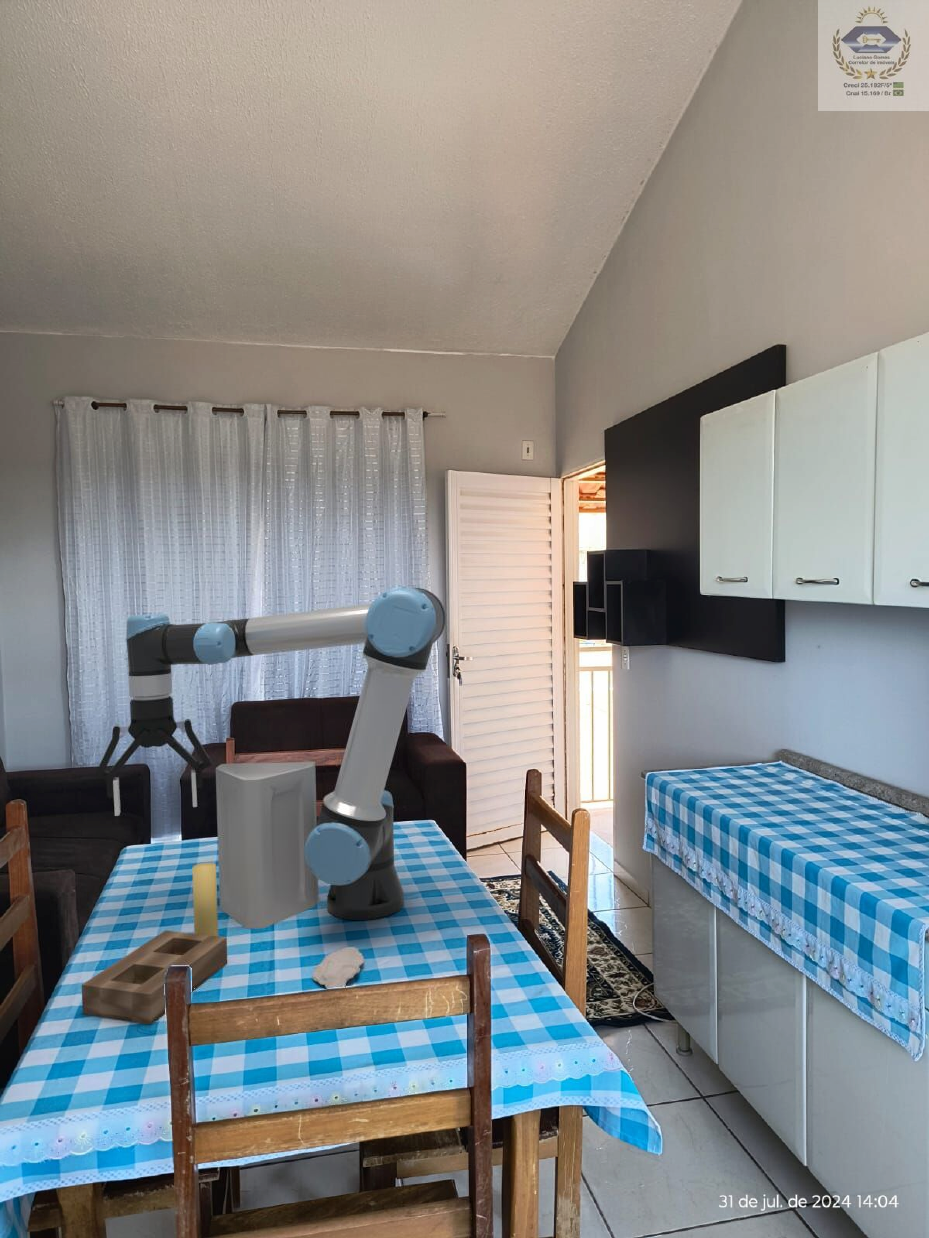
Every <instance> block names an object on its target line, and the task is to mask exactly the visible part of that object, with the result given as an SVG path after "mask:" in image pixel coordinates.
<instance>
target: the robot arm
mask: <svg viewBox="0 0 929 1238" xmlns="http://www.w3.org/2000/svg"><path fill="white" fill-rule="evenodd" d="M446 615H447V614H446V610H445V606H444V605H443V603H442V601H441V600H440V599H439V598H438V596H437V595H435V593H433V592H432V591H429V590H428V589H425V588H421V587H406V586H399V587H393V588H391V589H388V590H387V591H386V590H385V591H384V592H383V593H382V594H380V595H378V596H377V597H375V598H374V600H373V601H372V602H371V603H366V604H357V605H351V606H350V605H349V606H340V607H333V608H332V607H331V608H323V609H316V610H308V611H307V610H306V611H300V612H298V611H297V612H291V613H283V614H273V615H264V616H257V617H250V618H240V619H239V618H238V619H230V620H229V619H228V620H222V621H221V620H220V621H211V622H203V623H184V624H183V623H182V624H181V623H180V624H175V623H174V624H173V623H171V622H170V618H169V616H168V615H167V614H163V613H162V614H159V613H158V614H138V615H136V614H135V615H134V614H133V615H130V616H129V617H128V618H127V620H126V638H125V642H126V646H127V647H126V648H127V662H128V665H127V666H128V693H129V695H128V696H130V697H131V698H132V699H131V700H130V701H129V711H130V712H129V713H130V724H129V725H119V724H115V725H114V726H113V727H112V732H111V733H112V734H111V735H112V736H111V740H110V742H109V744H108V747H107V749H106V751H105V752H104V755H103V757H102V759H101V761H100V763H99V765H98V768H97V770H96V772H95V774H94V776H95V778H97V779H103V780H105V781H106V795H107V797H108V798H113V803H114V804H113V805H114V816H115V817H118V816H120V814H121V799H120V797H121V795H120V777H116V776H117V774H118V773H119V771H120V770H121V769H122V768H123V767H124V765H125V764H126V763H127V762H128V760H129V759H130V758H131V756H133V754H134V753H135V752H136V751H137V749H138V748H139V747H142V748H145V749H149V748H152V747H156V748H157V747H159V748H160V747H163V746H165V745H166V744H167V745H168V747H170V748H171V749H173V751H175V752H176V753H177V754H178V755H179V756H180V757H181V758H182V759H183V760H184V761H185V762H186V764H188V765H189V766H190V767H191V768H193V769H191V770H190V771H191V793H192V807H193V808H196V807H198V800H197V799H198V796H197V795H198V794H197V793H198V792H197V789H199V788H200V789H201V788H202V787H203V785H204V784H203V770H204V769H207V768H211V766H212V760H211V758H210V757H209V755H208V753H207V752H206V750H205V748H204V746H203V745H202V743H201V742H200V740H199V738H198V737H197V735H196V733H195V731H194V730H193V725H192V720H191V719H189V718H187V719H185V720H182V721H177V722H176V720H175V718H174V717H175V716H174V715H175V714H174V698H173V697H172V696H171V694H172V693H173V678H172V677H173V676H172V675H173V674H172V665H173V666H174V665H207V666H208V665H209V666H212V665H219V664H225V663H228V662H229V661H231V659H235V658H245V657H251V656H252V657H253V656H260V655H267V654H268V655H269V654H278V653H287V652H289V653H290V652H296V651H306V650H316V649H325V648H335V647H343V646H352V645H362V644H364V647H363V651H362V656H363V657H364V659H365V661H366V663H367V669H366V672H365V676H364V680H363V683H362V688H361V691H360V694H359V699H358V703H357V705H356V706H357V707H356V710H355V713H354V718H353V721H352V725H351V728H350V732H349V734H348V735H349V736H348V740H347V743H346V747H345V751H344V754H343V759H342V761H341V765H340V769H339V772H338V775H337V780H336V784H335V788H334V790H333V791H332V792H330V793H328V794H325V796H324V797H323V799H322V803H321V808H320V811H319V814H318V818H317V825H316V827H315V828H314V829H313V830H312V831H311V833H310V834H309V836H308V838H307V840H306V843H305V848H304V855H305V860H306V863H307V865H308V866H309V868H310V870H311V871H312V873H313V874H314V875H315V876H316V877H317V878H318V880H320V881H321V882H323V883H325V884H328V885H329V889H328V892H327V896H326V906H327V907H326V908H327V909H326V910H327V911H328V913H330V914H331V915H332V916H334V917H336V918H340V919H343V920H349V921H350V920H352V921H366V920H367V921H368V920H374V919H375V920H376V919H380V918H384V917H388V916H391V915H393V914H396V913H397V912H399V911H400V910H401V909H402V908H403V906H404V904H405V901H404V898H405V897H404V895H405V894H404V889H403V887H402V883H401V881H400V878H399V876H398V873H397V869H396V867H395V851H394V850H395V845H394V843H395V841H394V840H395V839H394V836H395V835H394V833H395V832H394V807H395V806H394V802H393V801H394V800H393V796H392V794H391V792H389V791H388V790H386V789H385V787H386V783H387V780H388V776H389V773H390V770H391V769H390V768H391V766H392V762H393V758H394V755H395V751H396V746H397V743H398V739H399V736H400V733H401V728H402V725H403V721H404V718H405V714H406V712H407V711H406V710H407V707H408V703H409V700H410V696H411V694H412V693H411V692H412V689H413V685H414V681H415V678H416V677H417V676H419V675H420V674H423V673H424V672H426V669H427V666H428V663H429V659H430V655H431V652H432V648H433V645H434V643H436V642H437V641H438V640H439V638H441V636H442V634H443V632H444V630H445V627H446V620H447V619H446V618H447V616H446ZM177 729H179V730H180V731H181V732H182V733H186V736H187V738H188V740H189V741H190V744H191V745H192V747H193V748H194V749H195V751H196V754H197V755H198V756H199V758H200V760H201V761H198V760H197V759H196V757H194V756H193V755H192V754H191V753H190V752H189V751H188V750H187V749H186V748H185V747H184V746H183V744H181V743H180V742H179V741H178V740H177V739H176V738H175V737H174V736H173V735H174V733H175V732H176V730H177ZM126 733H128V734H129V735H130V736H131V737H132V738H133V741H132V742H131V743H130V745H129V746H128V747H127V748H126V750H125V751H124V752H123V754H122V755H121V756H120V758H118V760H117V761H116V762H115V764H114V765H112V767H111V768H110V770H109V771H108V770H106V769H107V767H108V764H109V763H110V760H111V758H112V756H113V754H114V752H115V749H116V747H117V745H118V743H119V742H120V739H121V738H124V737H125V735H126Z"/></svg>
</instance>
